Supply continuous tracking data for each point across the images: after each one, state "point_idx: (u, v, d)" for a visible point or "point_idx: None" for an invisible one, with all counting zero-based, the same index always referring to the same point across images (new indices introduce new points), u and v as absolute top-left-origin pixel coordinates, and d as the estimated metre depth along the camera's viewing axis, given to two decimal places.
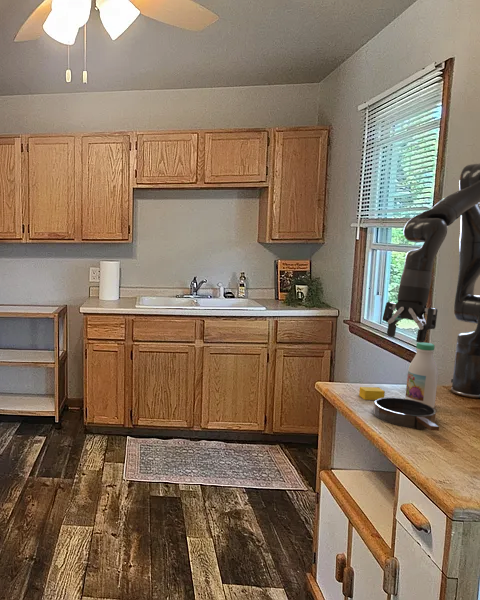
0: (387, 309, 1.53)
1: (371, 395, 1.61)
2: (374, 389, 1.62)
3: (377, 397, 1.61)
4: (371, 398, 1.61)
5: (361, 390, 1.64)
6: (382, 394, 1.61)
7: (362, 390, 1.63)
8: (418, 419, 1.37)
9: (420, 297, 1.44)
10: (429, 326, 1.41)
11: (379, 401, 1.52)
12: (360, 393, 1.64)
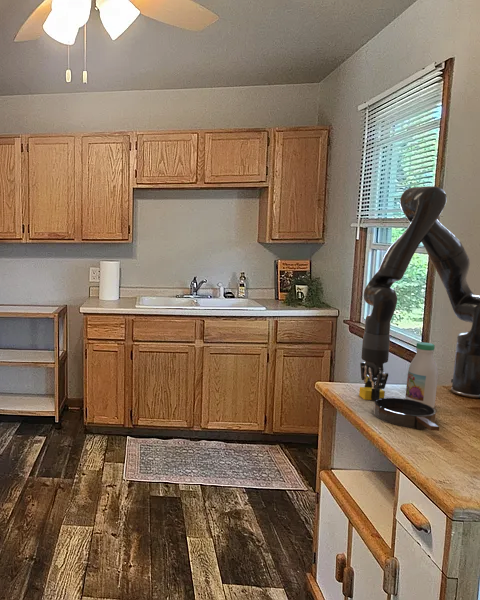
0: (361, 369, 1.67)
1: None
2: None
3: None
4: None
5: (361, 390, 1.64)
6: (382, 394, 1.61)
7: (362, 390, 1.63)
8: (418, 419, 1.37)
9: (374, 358, 1.58)
10: (376, 387, 1.58)
11: (379, 401, 1.52)
12: (360, 393, 1.64)
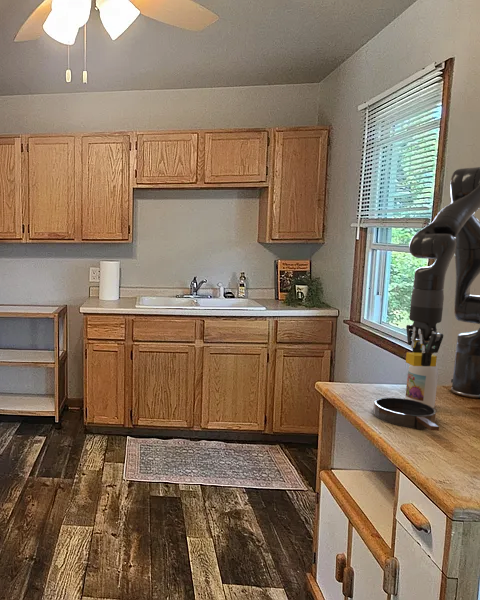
0: (408, 332, 1.46)
1: None
2: None
3: None
4: None
5: (408, 356, 1.43)
6: (434, 359, 1.40)
7: (410, 355, 1.42)
8: (418, 419, 1.37)
9: (425, 318, 1.37)
10: (428, 351, 1.37)
11: (379, 401, 1.52)
12: (407, 359, 1.43)
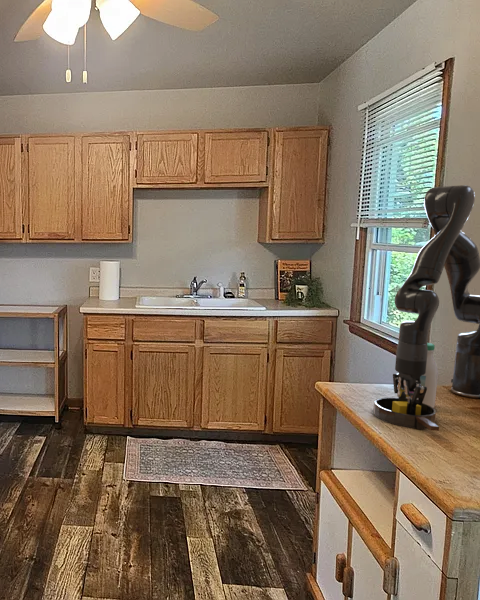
0: (394, 381, 1.52)
1: (406, 411, 1.46)
2: None
3: None
4: None
5: (394, 405, 1.48)
6: (418, 409, 1.45)
7: (396, 405, 1.48)
8: (418, 419, 1.37)
9: (410, 370, 1.43)
10: (412, 402, 1.42)
11: (379, 401, 1.52)
12: (393, 408, 1.49)
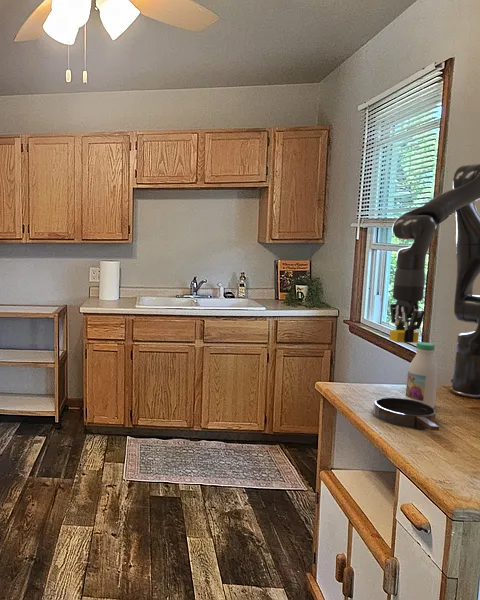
0: (392, 311, 1.53)
1: (403, 338, 1.47)
2: None
3: None
4: None
5: (392, 333, 1.50)
6: (416, 336, 1.47)
7: (393, 332, 1.49)
8: (418, 419, 1.37)
9: (408, 296, 1.44)
10: (410, 327, 1.44)
11: (379, 401, 1.52)
12: (391, 336, 1.50)
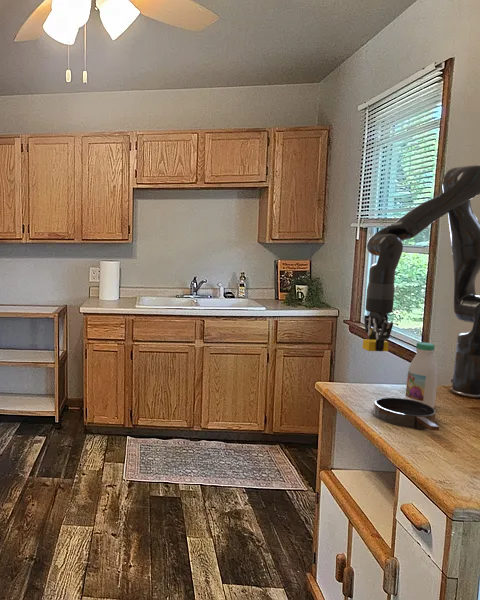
0: (365, 321, 1.65)
1: None
2: None
3: None
4: None
5: (365, 342, 1.61)
6: (386, 345, 1.58)
7: (366, 342, 1.61)
8: (418, 419, 1.37)
9: (378, 308, 1.56)
10: (380, 337, 1.55)
11: (379, 401, 1.52)
12: (364, 345, 1.62)
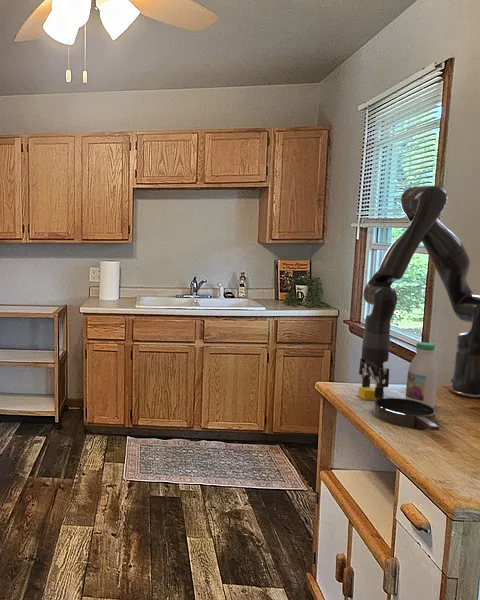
0: (361, 364, 1.68)
1: (370, 396, 1.61)
2: (373, 389, 1.62)
3: None
4: (370, 398, 1.61)
5: (360, 390, 1.64)
6: None
7: (361, 390, 1.63)
8: (418, 419, 1.37)
9: (374, 358, 1.58)
10: (379, 385, 1.56)
11: (379, 401, 1.52)
12: (359, 393, 1.64)
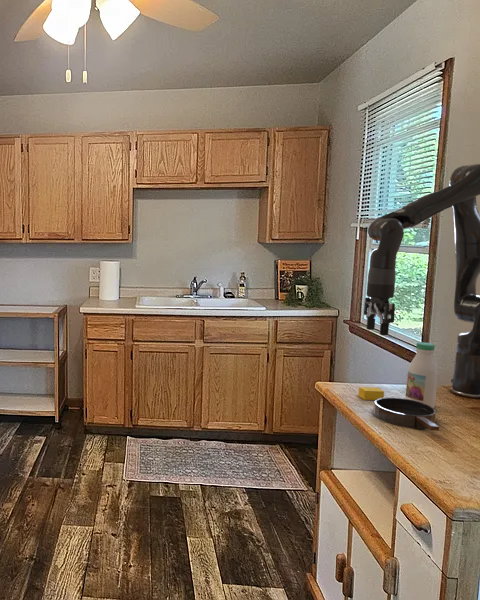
0: (365, 304, 1.65)
1: (370, 396, 1.61)
2: (373, 389, 1.62)
3: (376, 397, 1.61)
4: (370, 398, 1.61)
5: (360, 390, 1.64)
6: (381, 394, 1.61)
7: (361, 390, 1.63)
8: (418, 419, 1.37)
9: (379, 293, 1.55)
10: (385, 320, 1.52)
11: (379, 401, 1.52)
12: (359, 393, 1.64)
